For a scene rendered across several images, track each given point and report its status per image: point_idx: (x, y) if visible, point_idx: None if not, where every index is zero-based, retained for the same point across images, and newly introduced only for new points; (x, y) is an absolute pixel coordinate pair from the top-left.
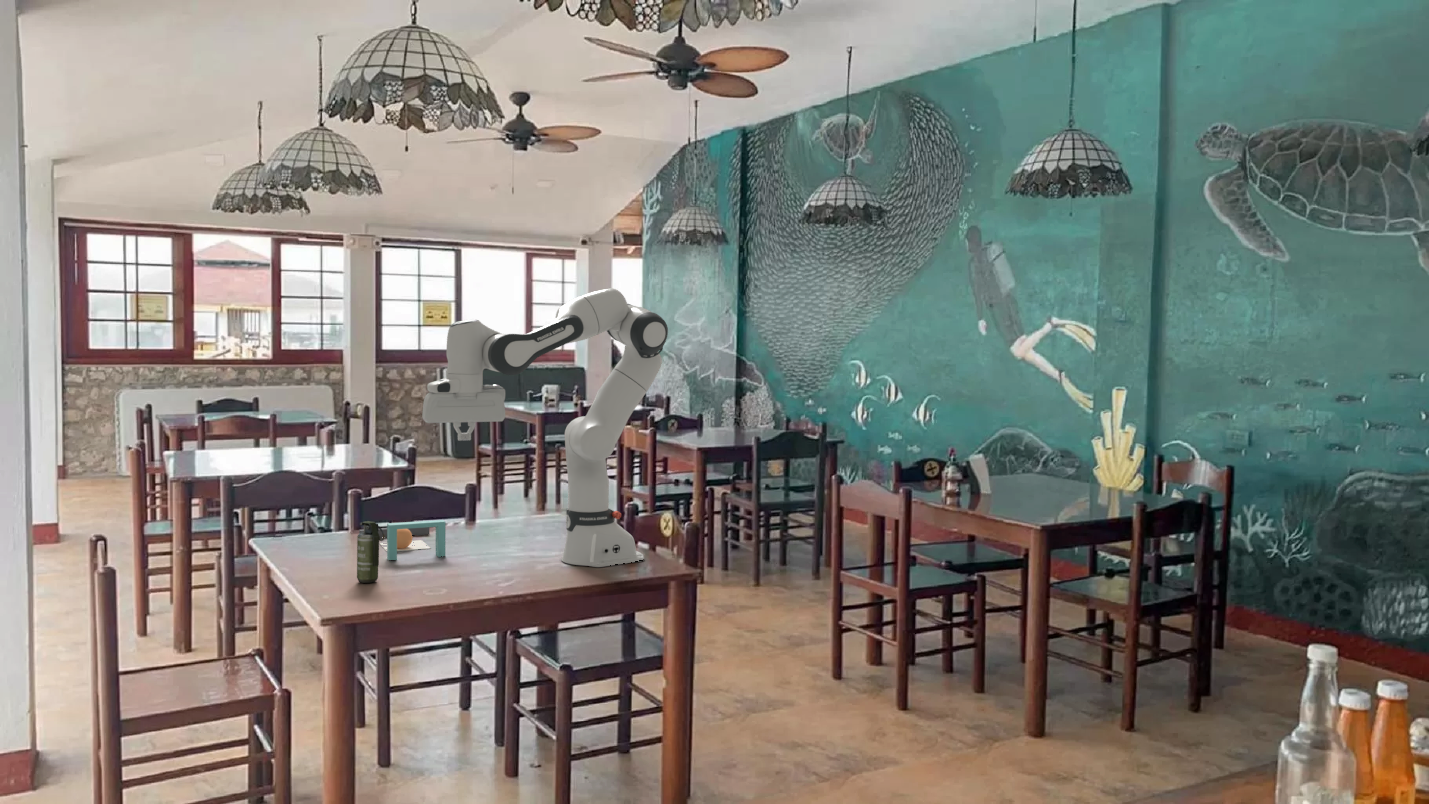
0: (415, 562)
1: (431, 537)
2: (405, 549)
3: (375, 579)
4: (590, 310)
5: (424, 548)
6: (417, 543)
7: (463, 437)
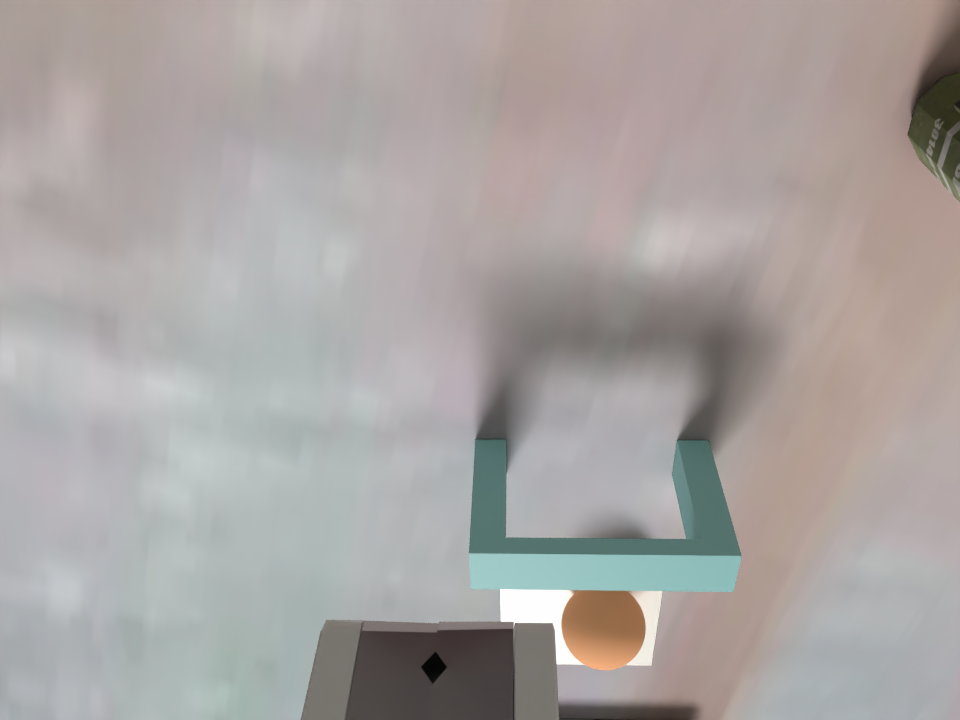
0: (617, 390)
1: None
2: None
3: (936, 83)
4: None
5: None
6: None
7: (470, 658)
